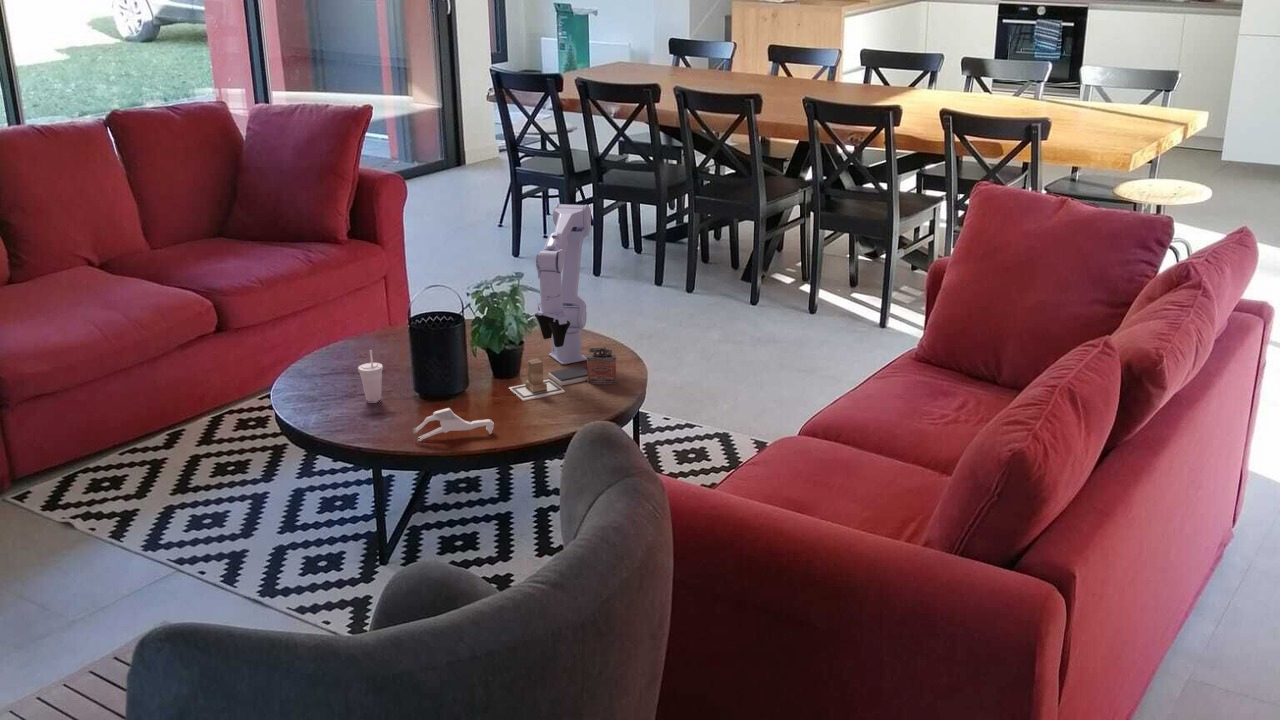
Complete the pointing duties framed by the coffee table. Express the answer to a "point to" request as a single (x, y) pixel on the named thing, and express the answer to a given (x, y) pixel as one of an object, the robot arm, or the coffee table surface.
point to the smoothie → (371, 379)
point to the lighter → (601, 366)
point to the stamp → (535, 377)
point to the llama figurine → (452, 423)
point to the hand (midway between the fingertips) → (553, 342)
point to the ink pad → (569, 375)
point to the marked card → (527, 395)
